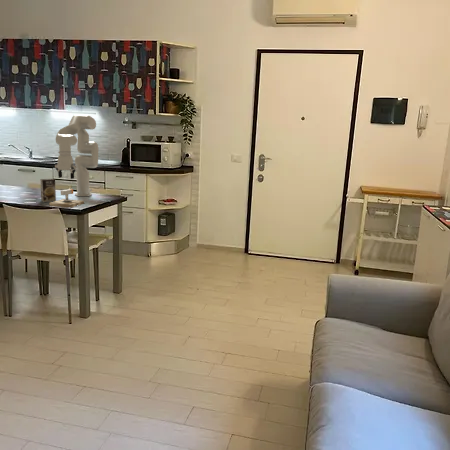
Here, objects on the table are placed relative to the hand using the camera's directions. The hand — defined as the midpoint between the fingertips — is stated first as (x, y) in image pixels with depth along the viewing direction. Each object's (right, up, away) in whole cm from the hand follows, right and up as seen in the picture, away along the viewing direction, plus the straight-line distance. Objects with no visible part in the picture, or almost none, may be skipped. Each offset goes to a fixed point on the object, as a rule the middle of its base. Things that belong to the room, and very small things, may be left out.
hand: (66, 178), depth 331 cm
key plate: (-1, -19, +4) cm, 19 cm away
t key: (-1, -16, +4) cm, 16 cm away
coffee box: (-18, -16, +14) cm, 27 cm away
